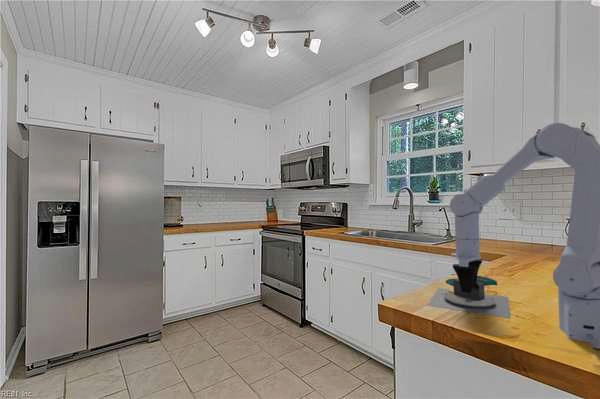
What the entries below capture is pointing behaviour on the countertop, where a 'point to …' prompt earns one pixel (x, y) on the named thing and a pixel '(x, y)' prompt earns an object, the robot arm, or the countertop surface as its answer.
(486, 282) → the digital multimeter
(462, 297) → the dial
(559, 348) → the countertop surface
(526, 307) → the countertop surface
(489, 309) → the dial panel
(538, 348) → the countertop surface
